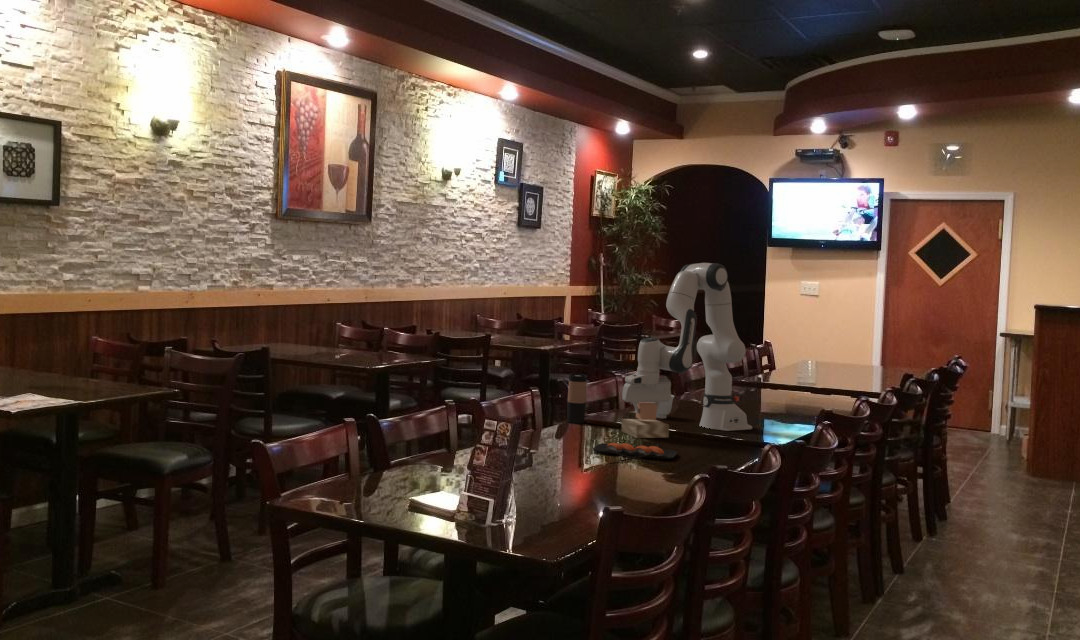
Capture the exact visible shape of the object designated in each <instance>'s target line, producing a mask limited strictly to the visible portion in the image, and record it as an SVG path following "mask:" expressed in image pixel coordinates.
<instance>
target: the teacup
mask: <svg viewBox="0 0 1080 640" xmlns="http://www.w3.org/2000/svg"><path fill="white" fill-rule="evenodd" d="M674 398H675V395H673V394H671V400H670V401H669V402H660V406H659V407H658V409H657V413H656V419H667V416H668V415H670V413H671V411H672V406H673V401H674ZM651 403H654V404H655V402H651Z"/></svg>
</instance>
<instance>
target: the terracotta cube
mask: <svg viewBox="0 0 1080 640" xmlns="http://www.w3.org/2000/svg"><path fill="white" fill-rule="evenodd" d="M637 406H638V408H639V409H640V413H635V418H636V419H642V420H657V418H656V410H657V404H654V403H651V402H638V405H637Z"/></svg>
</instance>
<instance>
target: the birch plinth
mask: <svg viewBox="0 0 1080 640" xmlns="http://www.w3.org/2000/svg"><path fill="white" fill-rule="evenodd" d="M620 429H621V430H620V431H621V432H622V433H624V434H626V435H629V436H631V437H633V438H634V439H645V438H647V439H655V438H656V439H657V438H658V439H660V438H669V437H670V424H668V423H666V422H662V421H660V420H657V419H656V420H642V419H639V418H622V419H621V428H620Z"/></svg>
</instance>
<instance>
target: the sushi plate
mask: <svg viewBox="0 0 1080 640" xmlns="http://www.w3.org/2000/svg"><path fill="white" fill-rule="evenodd" d="M592 451H593V452H597V453H602V454H605V453H608V454H607V455H613V454H618V455H617V456H623V457H626V458H624V459H620V460H618V461H622V462H628V461H630V460H637V461H639V460H641V461H640V462H643V461H646V462H650V463H654V462H652V461H648V460H644V459H640V458H642V457H646V458H645V459H652V458H655V460H672V459H675V457H676V456H677V455H678V451H676V450H673V449H663V448H660V447H658V446H656V445H650V446H646V445H638V446H633V445H632V444H630V443H627V442H625V443H624V442H623V443H618V442H610V443H598V444H596V445H595V446H594V447H593V448H592ZM633 456H637V457H633ZM646 462H645V463H646ZM650 463H649V464H650Z"/></svg>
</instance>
